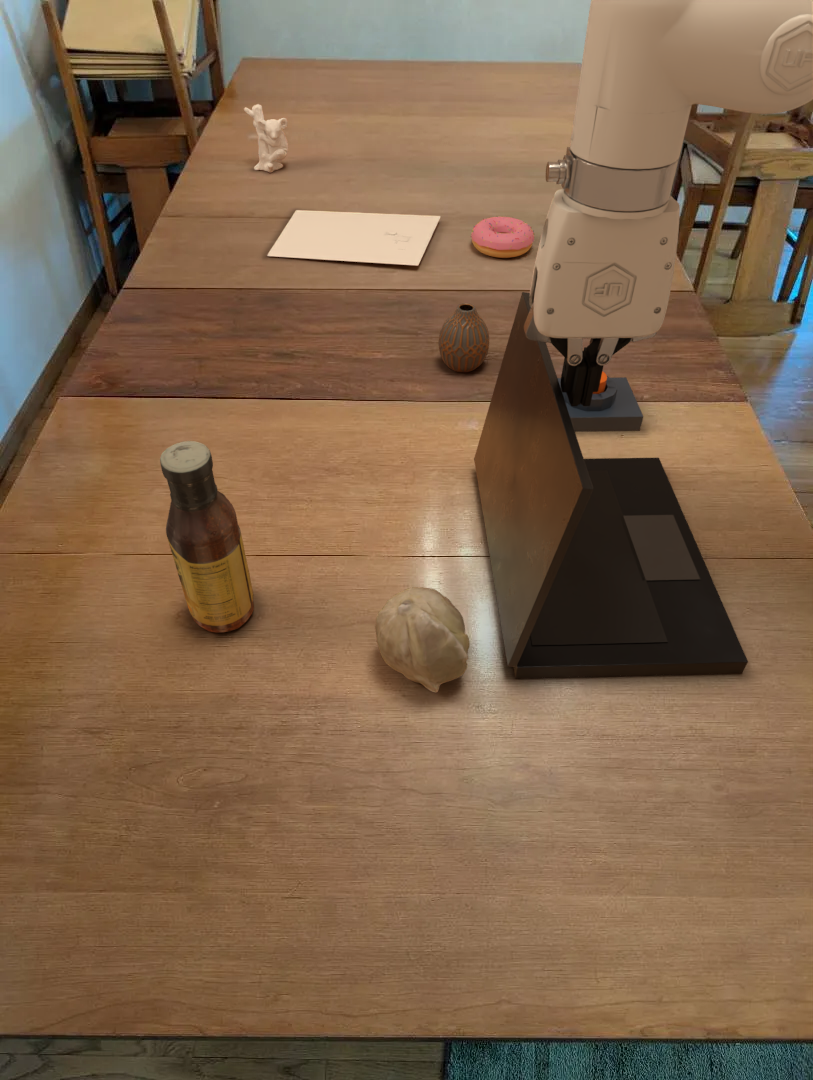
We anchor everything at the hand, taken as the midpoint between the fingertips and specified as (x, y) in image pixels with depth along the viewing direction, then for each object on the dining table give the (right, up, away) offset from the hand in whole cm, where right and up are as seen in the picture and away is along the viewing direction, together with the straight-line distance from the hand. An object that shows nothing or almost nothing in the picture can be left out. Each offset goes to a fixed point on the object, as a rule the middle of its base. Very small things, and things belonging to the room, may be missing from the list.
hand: (577, 397), depth 69 cm
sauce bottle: (-33, -20, +8) cm, 39 cm away
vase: (-7, +12, +42) cm, 44 cm away
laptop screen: (-4, -6, +5) cm, 9 cm away
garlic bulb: (-14, -24, +4) cm, 28 cm away
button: (+8, +7, +32) cm, 33 cm away
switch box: (+8, +4, +34) cm, 35 cm away
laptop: (+5, -15, +14) cm, 21 cm away
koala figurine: (-43, +65, +97) cm, 124 cm away
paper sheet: (-24, +41, +72) cm, 86 cm away
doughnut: (+2, +39, +70) cm, 80 cm away
